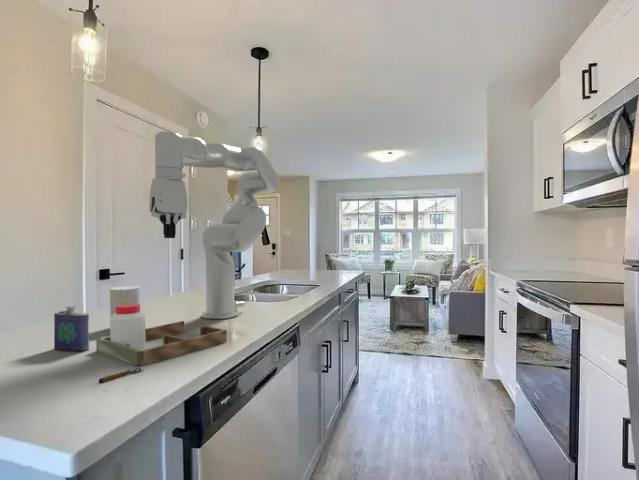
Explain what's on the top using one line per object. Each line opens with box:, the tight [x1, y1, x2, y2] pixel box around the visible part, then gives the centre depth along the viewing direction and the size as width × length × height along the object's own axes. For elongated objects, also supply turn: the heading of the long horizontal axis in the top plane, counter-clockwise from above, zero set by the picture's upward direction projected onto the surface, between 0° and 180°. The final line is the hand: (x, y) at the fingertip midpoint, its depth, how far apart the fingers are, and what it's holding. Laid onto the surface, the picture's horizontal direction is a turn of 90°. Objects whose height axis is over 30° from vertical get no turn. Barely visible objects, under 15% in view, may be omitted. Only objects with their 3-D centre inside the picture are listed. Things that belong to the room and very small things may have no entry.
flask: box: [53, 306, 90, 353], centre depth 97 cm, size 9×3×11 cm, turn 78°
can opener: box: [98, 366, 145, 384], centre depth 79 cm, size 9×2×1 cm, turn 142°
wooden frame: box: [95, 320, 228, 367], centre depth 100 cm, size 24×19×3 cm
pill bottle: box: [109, 303, 147, 351], centre depth 96 cm, size 8×8×11 cm
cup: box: [109, 285, 141, 318], centre depth 120 cm, size 8×8×12 cm
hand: (169, 237), depth 117 cm, fingers closed
